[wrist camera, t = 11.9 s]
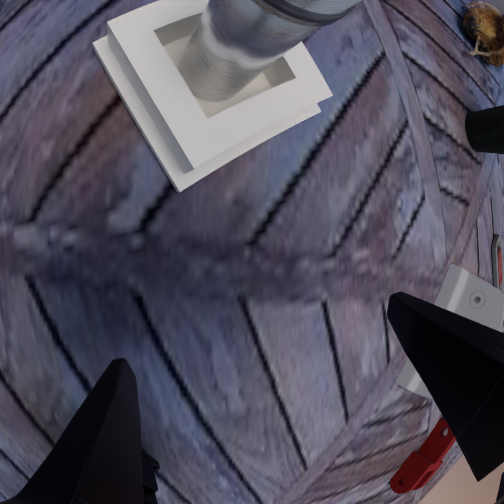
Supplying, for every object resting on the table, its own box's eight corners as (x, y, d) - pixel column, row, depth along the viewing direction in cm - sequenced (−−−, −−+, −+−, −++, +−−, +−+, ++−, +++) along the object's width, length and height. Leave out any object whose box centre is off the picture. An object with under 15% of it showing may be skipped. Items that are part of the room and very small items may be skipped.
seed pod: (532, 99, 30) (532, 31, 24) (525, 69, 22) (520, -12, 15) (473, 81, 40) (475, 18, 33) (447, 51, 31) (447, -22, 24)
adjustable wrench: (502, 218, 39) (512, 220, 37) (502, 331, 47) (509, 334, 45) (485, 240, 37) (496, 241, 35) (485, 356, 45) (493, 360, 43)
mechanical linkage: (401, 480, 42) (417, 493, 37) (385, 483, 39) (402, 498, 34) (449, 415, 43) (467, 426, 38) (437, 413, 40) (457, 425, 35)
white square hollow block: (177, 192, 19) (189, 190, 15) (93, 49, 15) (89, 19, 11) (313, 114, 22) (346, 102, 18) (238, -6, 18) (258, -33, 14)
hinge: (451, 260, 32) (519, 286, 25) (453, 272, 35) (514, 296, 28) (392, 385, 31) (459, 421, 24) (400, 384, 35) (459, 416, 27)
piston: (225, 117, 18) (365, 23, 6) (161, 80, 16) (225, -71, 5) (260, 65, 19) (394, -32, 7) (201, 29, 17) (293, -104, 5)
